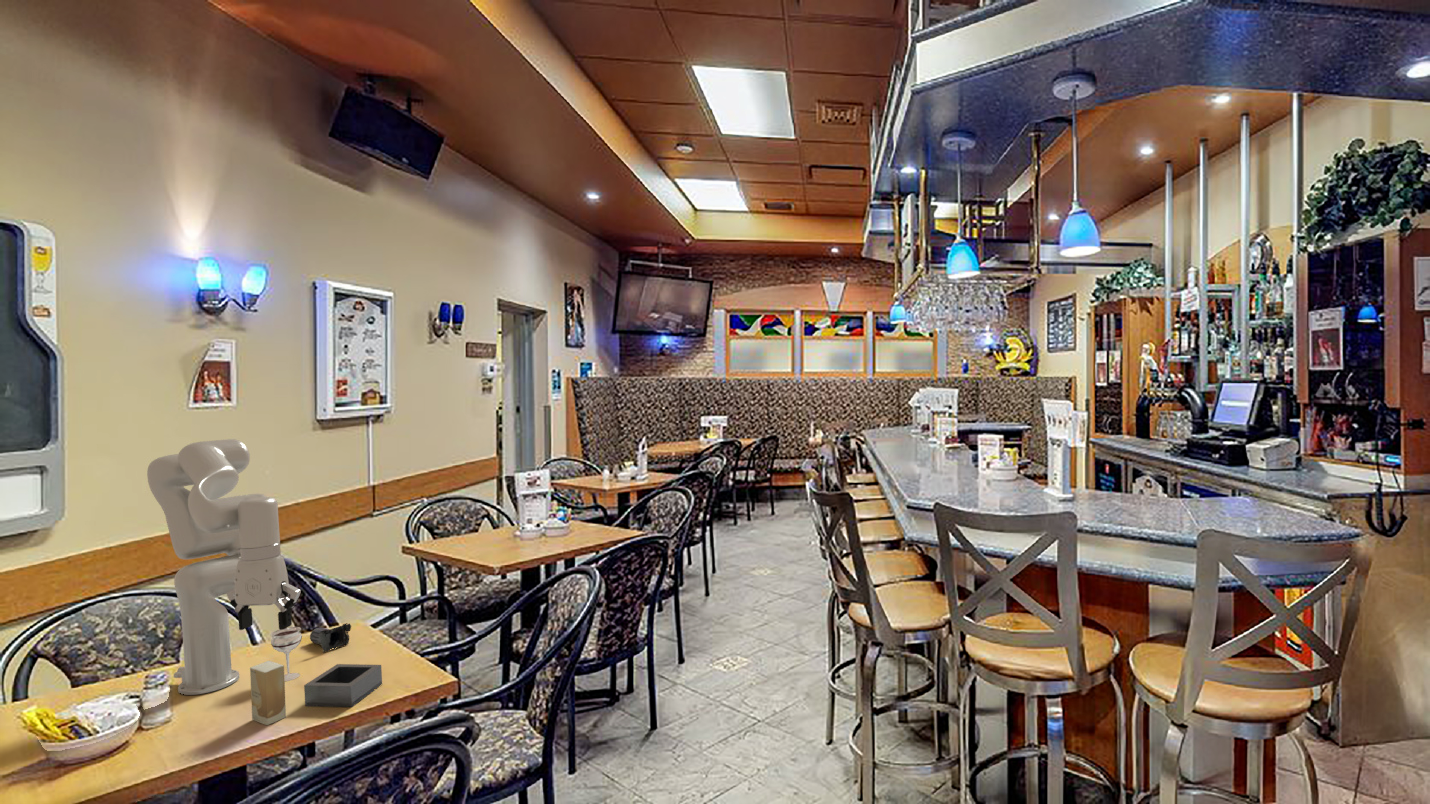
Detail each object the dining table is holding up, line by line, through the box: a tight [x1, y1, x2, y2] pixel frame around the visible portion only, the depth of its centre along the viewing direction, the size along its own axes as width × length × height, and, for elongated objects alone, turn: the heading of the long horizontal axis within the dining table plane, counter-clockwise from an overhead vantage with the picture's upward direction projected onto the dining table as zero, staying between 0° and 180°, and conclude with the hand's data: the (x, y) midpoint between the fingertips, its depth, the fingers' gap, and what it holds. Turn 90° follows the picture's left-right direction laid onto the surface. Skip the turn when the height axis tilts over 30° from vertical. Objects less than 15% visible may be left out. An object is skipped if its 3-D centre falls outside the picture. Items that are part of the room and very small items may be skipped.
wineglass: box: [270, 626, 303, 682], centre depth 177 cm, size 7×7×12 cm
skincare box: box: [249, 660, 287, 726], centre depth 155 cm, size 6×4×12 cm
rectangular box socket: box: [303, 663, 383, 708], centre depth 166 cm, size 12×12×5 cm
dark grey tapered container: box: [309, 622, 352, 653], centre depth 198 cm, size 9×8×12 cm
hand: (265, 627), depth 154 cm, fingers open, 9 cm apart
